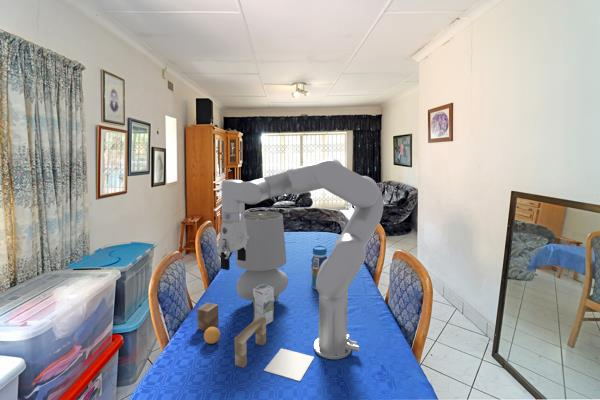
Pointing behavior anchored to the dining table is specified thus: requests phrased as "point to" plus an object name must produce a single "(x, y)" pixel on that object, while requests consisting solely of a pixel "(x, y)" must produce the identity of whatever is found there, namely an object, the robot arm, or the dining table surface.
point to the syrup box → (263, 302)
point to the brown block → (207, 316)
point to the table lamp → (263, 254)
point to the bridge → (241, 338)
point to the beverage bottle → (317, 262)
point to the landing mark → (289, 364)
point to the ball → (212, 335)
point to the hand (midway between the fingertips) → (233, 264)
